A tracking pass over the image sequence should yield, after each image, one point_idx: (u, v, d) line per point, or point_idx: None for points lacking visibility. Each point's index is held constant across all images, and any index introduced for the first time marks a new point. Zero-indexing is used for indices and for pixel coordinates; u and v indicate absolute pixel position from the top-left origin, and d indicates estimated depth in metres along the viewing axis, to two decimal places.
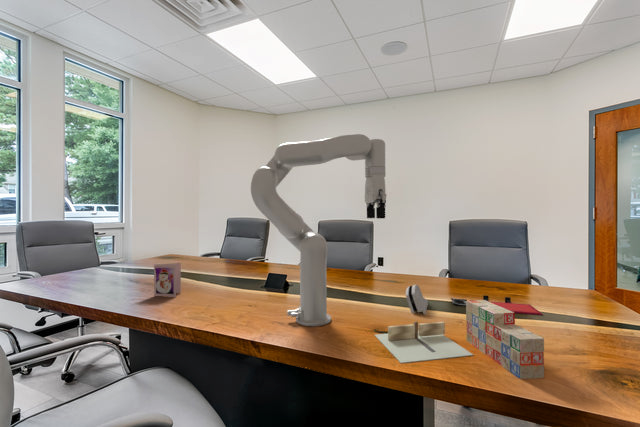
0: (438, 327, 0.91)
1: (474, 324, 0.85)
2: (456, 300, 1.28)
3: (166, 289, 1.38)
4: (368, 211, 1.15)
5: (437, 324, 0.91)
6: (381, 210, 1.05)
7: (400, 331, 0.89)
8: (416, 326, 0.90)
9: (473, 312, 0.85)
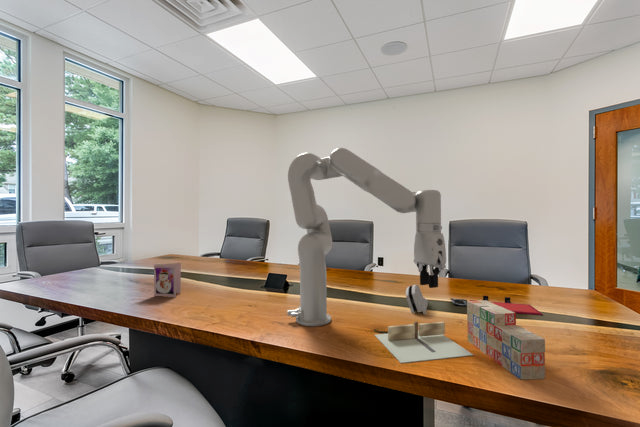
0: (438, 327, 0.91)
1: (475, 324, 0.84)
2: (456, 300, 1.28)
3: (166, 289, 1.38)
4: None
5: (437, 324, 0.91)
6: None
7: (400, 331, 0.89)
8: (416, 326, 0.90)
9: (474, 312, 0.85)
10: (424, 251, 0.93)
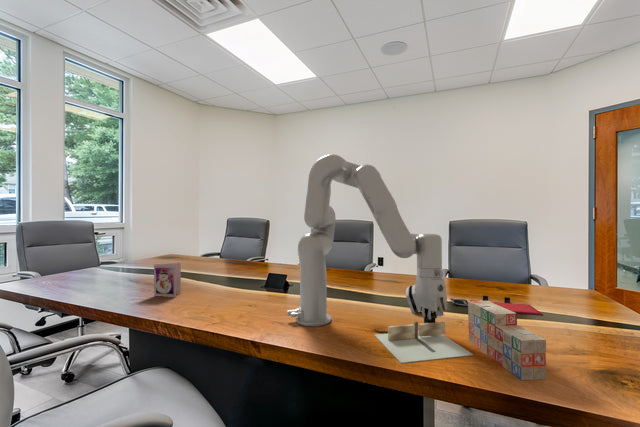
0: (438, 327, 0.91)
1: (476, 325, 0.84)
2: (456, 300, 1.27)
3: (166, 289, 1.38)
4: None
5: (437, 324, 0.91)
6: None
7: (400, 331, 0.89)
8: (416, 326, 0.90)
9: (475, 313, 0.84)
10: (425, 296, 0.92)
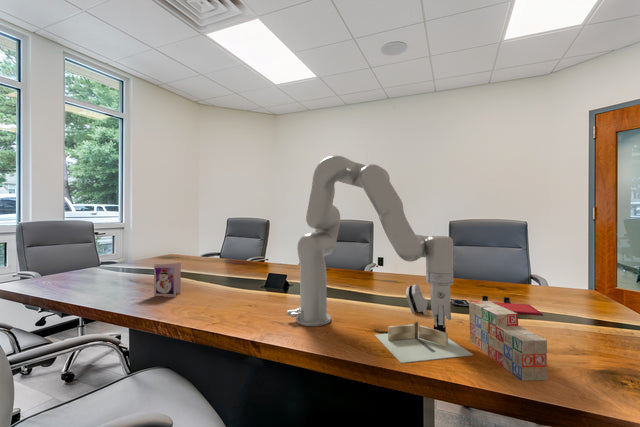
0: (438, 336, 0.84)
1: (477, 325, 0.84)
2: (456, 301, 1.27)
3: (166, 289, 1.38)
4: None
5: (438, 333, 0.85)
6: None
7: (400, 331, 0.89)
8: (416, 326, 0.90)
9: (476, 313, 0.84)
10: None
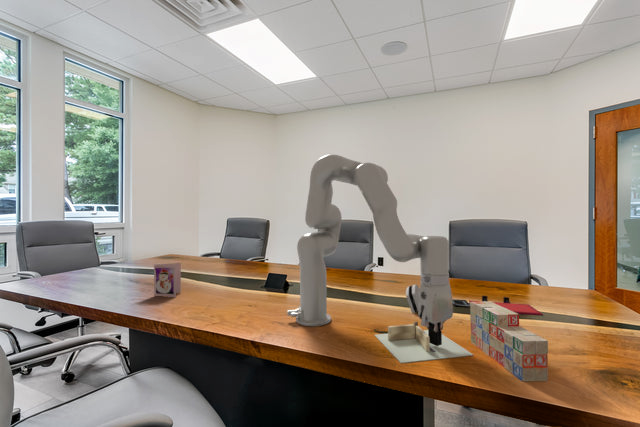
0: (423, 338, 0.83)
1: (478, 325, 0.84)
2: (456, 301, 1.27)
3: (166, 289, 1.38)
4: None
5: (423, 335, 0.83)
6: None
7: (400, 331, 0.89)
8: None
9: (477, 313, 0.84)
10: None
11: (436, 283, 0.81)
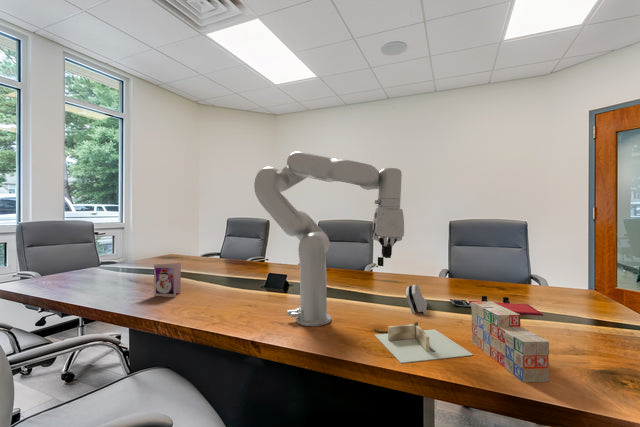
0: (423, 338, 0.83)
1: (479, 325, 0.83)
2: (455, 301, 1.26)
3: (166, 289, 1.38)
4: None
5: (423, 335, 0.83)
6: None
7: (400, 331, 0.89)
8: None
9: (478, 314, 0.84)
10: None
11: (385, 204, 0.98)
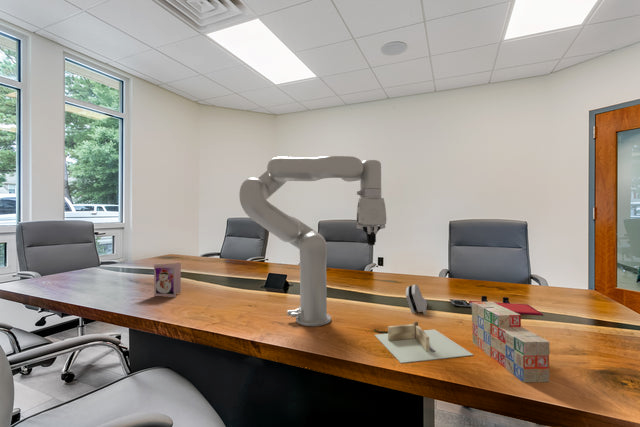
0: (423, 338, 0.83)
1: (479, 326, 0.83)
2: (455, 301, 1.26)
3: (166, 289, 1.38)
4: (371, 237, 1.06)
5: (423, 335, 0.83)
6: None
7: (400, 331, 0.89)
8: None
9: (479, 314, 0.83)
10: None
11: (366, 194, 1.05)
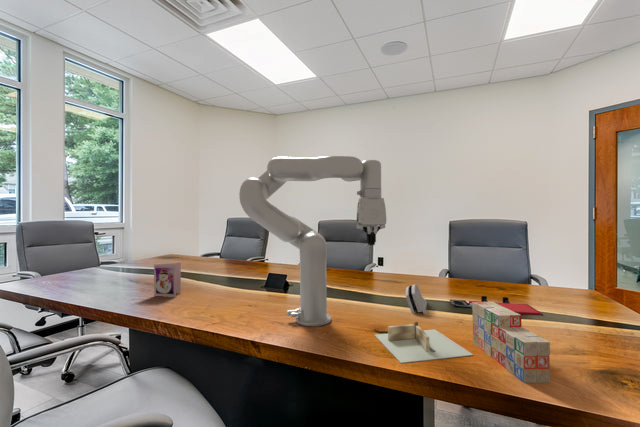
0: (423, 338, 0.83)
1: (480, 326, 0.83)
2: (455, 301, 1.26)
3: (166, 289, 1.38)
4: (371, 237, 1.06)
5: (423, 335, 0.83)
6: None
7: (400, 331, 0.89)
8: None
9: (479, 314, 0.83)
10: None
11: (366, 194, 1.05)
